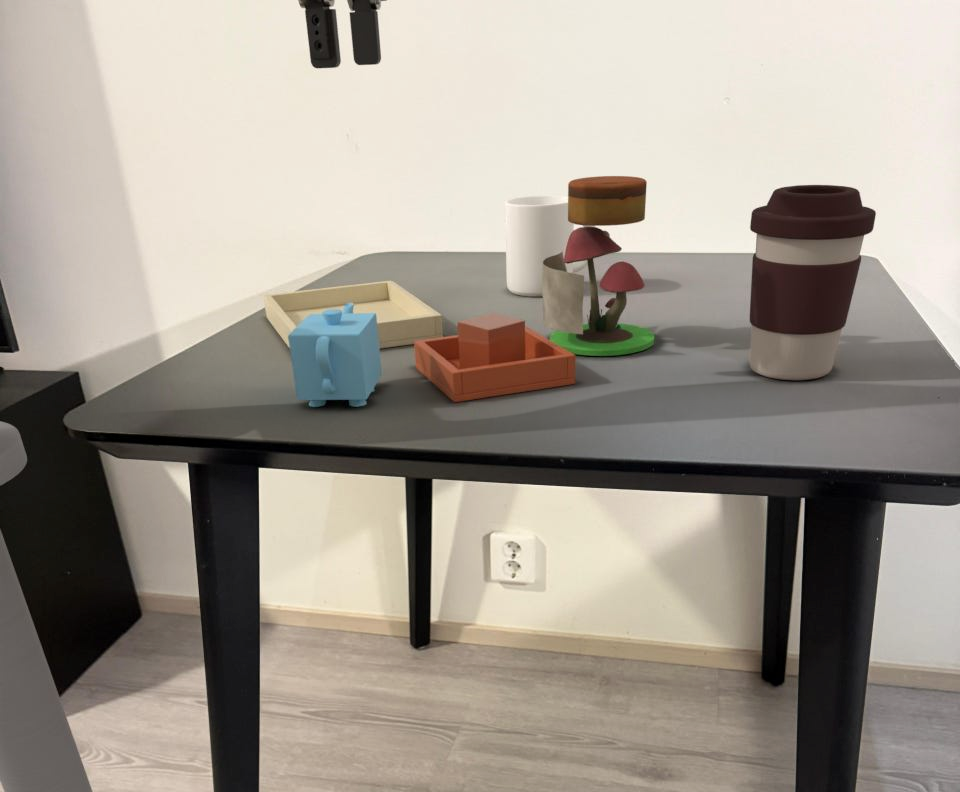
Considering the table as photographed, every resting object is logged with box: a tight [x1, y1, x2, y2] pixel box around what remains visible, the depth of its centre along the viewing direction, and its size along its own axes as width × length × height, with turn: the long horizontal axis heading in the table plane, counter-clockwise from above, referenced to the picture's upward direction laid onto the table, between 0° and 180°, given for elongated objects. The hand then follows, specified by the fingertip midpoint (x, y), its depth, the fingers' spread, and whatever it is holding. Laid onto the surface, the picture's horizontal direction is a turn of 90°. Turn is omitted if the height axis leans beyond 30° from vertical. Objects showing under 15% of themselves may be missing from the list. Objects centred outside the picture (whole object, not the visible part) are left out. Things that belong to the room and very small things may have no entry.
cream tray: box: [262, 280, 444, 350], centre depth 103 cm, size 16×20×3 cm
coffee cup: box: [749, 184, 877, 381], centre depth 80 cm, size 10×10×15 cm
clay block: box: [457, 312, 526, 369], centre depth 85 cm, size 4×4×4 cm
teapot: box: [288, 303, 383, 408], centre depth 81 cm, size 12×6×8 cm, turn 174°
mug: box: [504, 195, 596, 298], centre depth 114 cm, size 12×8×10 cm
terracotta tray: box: [413, 325, 577, 403], centre depth 86 cm, size 12×12×3 cm
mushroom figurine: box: [542, 175, 655, 357], centre depth 91 cm, size 12×13×15 cm
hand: (348, 66), depth 74 cm, fingers open, 8 cm apart
